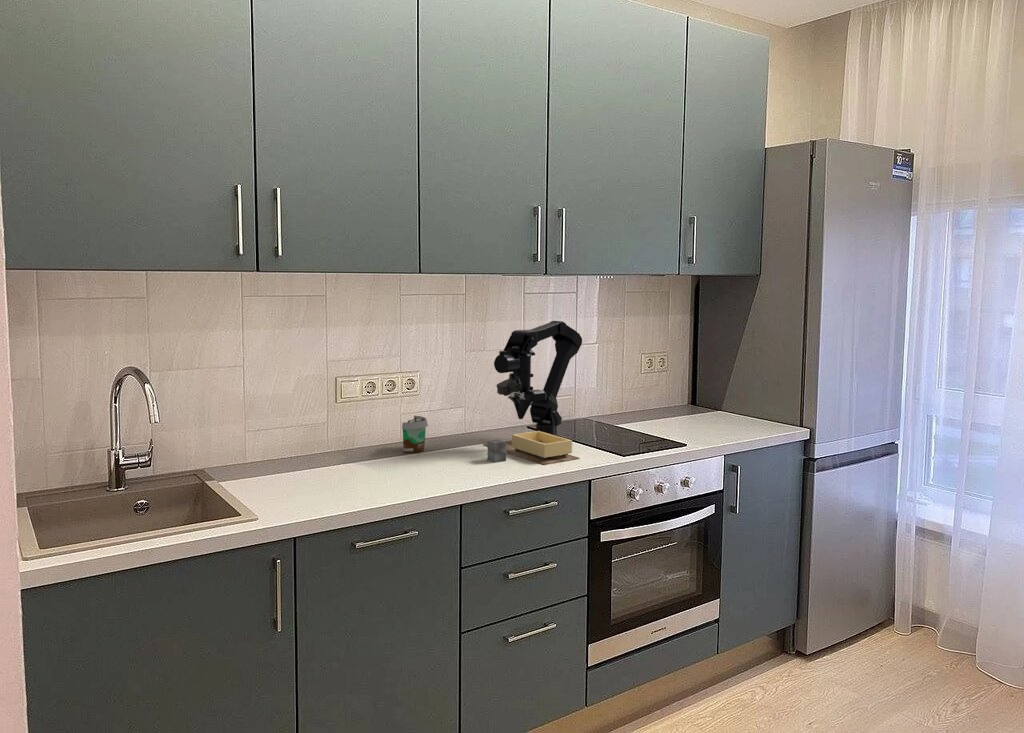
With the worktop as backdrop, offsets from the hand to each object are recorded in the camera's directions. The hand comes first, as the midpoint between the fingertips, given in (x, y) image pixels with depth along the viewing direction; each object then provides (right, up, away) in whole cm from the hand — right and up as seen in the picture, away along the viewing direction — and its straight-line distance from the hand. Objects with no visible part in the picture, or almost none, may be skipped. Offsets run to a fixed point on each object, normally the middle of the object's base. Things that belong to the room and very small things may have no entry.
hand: (520, 419), depth 267 cm
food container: (-32, -10, -3) cm, 34 cm away
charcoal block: (-7, -12, -15) cm, 20 cm away
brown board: (+3, -10, -2) cm, 11 cm away
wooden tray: (+6, -11, -7) cm, 14 cm away
